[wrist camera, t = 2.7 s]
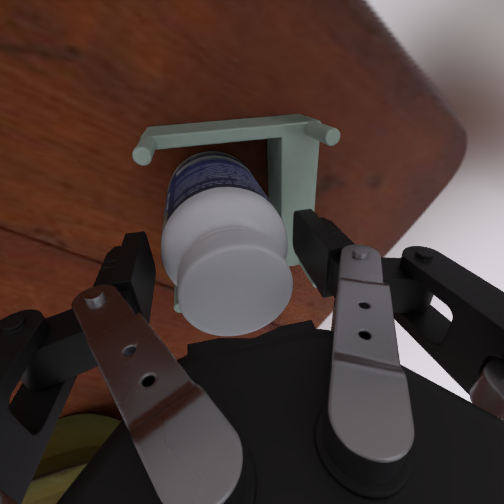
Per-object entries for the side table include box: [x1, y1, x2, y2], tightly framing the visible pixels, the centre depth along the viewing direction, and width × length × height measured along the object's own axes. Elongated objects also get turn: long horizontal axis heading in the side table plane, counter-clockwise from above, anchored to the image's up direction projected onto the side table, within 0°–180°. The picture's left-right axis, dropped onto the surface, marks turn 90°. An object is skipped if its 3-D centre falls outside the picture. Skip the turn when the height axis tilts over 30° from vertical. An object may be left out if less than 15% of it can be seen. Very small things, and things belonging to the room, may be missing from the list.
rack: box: [132, 114, 340, 313], centre depth 16 cm, size 9×8×5 cm
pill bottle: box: [161, 151, 293, 336], centre depth 14 cm, size 5×5×10 cm
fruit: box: [22, 413, 121, 504], centre depth 25 cm, size 11×12×7 cm
